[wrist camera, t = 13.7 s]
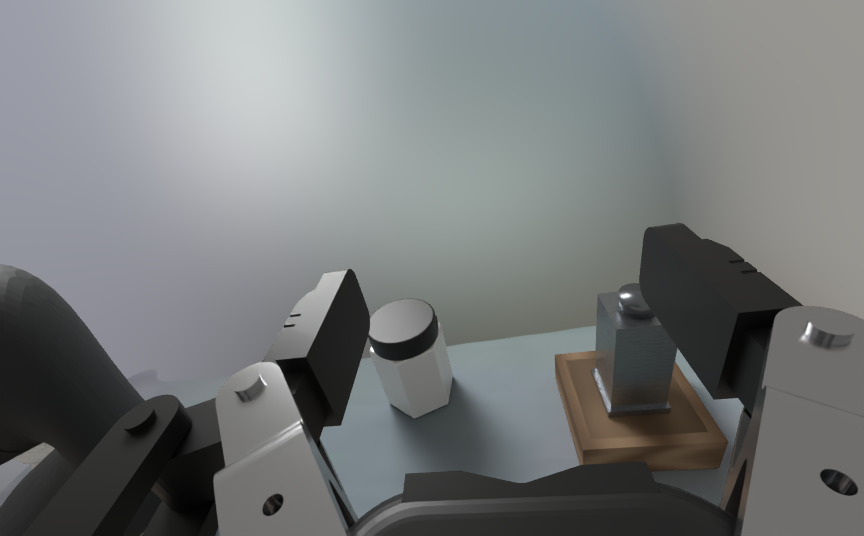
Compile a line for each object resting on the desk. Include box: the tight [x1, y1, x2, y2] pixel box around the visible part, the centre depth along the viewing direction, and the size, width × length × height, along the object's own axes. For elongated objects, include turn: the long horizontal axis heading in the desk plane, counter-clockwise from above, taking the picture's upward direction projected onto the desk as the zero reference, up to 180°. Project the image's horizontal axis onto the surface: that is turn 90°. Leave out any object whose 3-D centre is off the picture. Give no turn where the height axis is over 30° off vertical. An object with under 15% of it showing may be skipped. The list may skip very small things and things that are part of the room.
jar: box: [368, 299, 453, 419], centre depth 46 cm, size 9×8×12 cm
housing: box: [591, 283, 677, 418], centre depth 35 cm, size 6×6×12 cm
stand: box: [555, 351, 728, 471], centre depth 39 cm, size 12×12×4 cm
